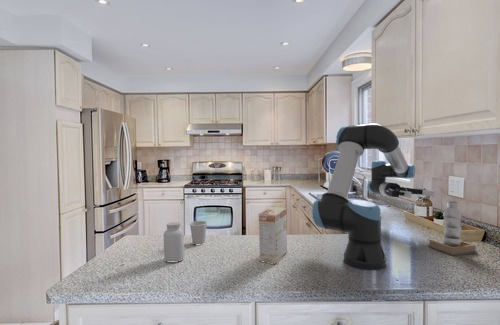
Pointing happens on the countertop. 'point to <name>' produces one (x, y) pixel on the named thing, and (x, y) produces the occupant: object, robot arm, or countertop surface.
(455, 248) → the tray
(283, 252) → the coffeecake box
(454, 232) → the silver metal bottle
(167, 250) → the pill bottle
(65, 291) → the countertop surface
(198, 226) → the dixie cup
